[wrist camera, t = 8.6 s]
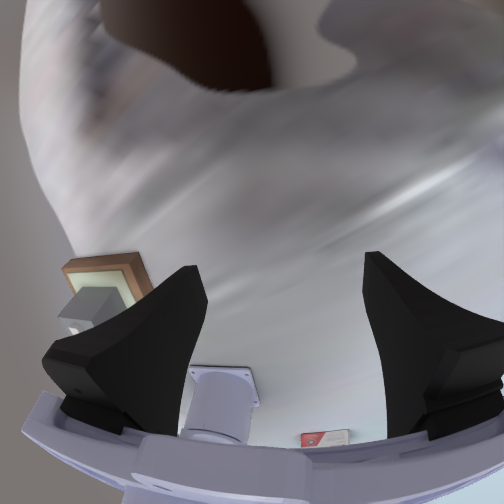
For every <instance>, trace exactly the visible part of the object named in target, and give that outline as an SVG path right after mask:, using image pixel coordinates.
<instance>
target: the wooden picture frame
mask: <svg viewBox="0 0 504 504" xmlns="http://www.w3.org/2000/svg"><path fill="white" fill-rule="evenodd" d="M62 271H63V273H64V275H65V277H66V279H67V281H68V283H69V285H70V287H71V289H72V291H73V293H74V295H76V293H77V292H78V291H79V290H80V289H81V288H82V287H117V289H118V291H119V293H120V295H121V297H122V299H123V301H124V303H125V305H126V307H127V309H128V308H129V307H131V306H132V305H134V304H135V303H136V302H138V301H139V300H140V299H142V298H143V297H144V296H146V295H147V294H148V293H150V292H151V291H152V290H153V287H152V285H151V283H150V280H149V278H148V275H147V273H146V270H145V268H144V265H143V263H142V260H141V257H140V255H139V252H136V253H126V254H116V255H106V256H96V257H87V258H77V259H71V260H70V261H69V262H68V263H67V264H66V265H64V266H63V267H62Z"/></svg>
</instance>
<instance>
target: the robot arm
mask: <svg viewBox="0 0 504 504" xmlns="http://www.w3.org/2000/svg"><path fill="white" fill-rule="evenodd" d="M362 293H363V298H364V303H365V308H366V313H367V316H368V319H369V322H370V325H371V328H372V332H373V335H374V338H375V341H376V345H377V348H378V351H379V355H380V359H381V365H382V371H383V378H384V386H385V396H386V409H387V439H385V440H379V441H373V442H367V443H360V444H352V445H343V446H333V447H319V448H294V449H286V448H275V447H265V446H247V444H246V443H247V441H248V438H249V431H250V424H251V418H252V411H253V407H258V406H260V401H259V397H258V394H257V391H256V387H255V384H254V380H253V377H252V374H251V370H250V369H248V368H223V367H201V366H189V372H190V373H191V375H192V377H193V379H194V381H195V382H196V384H197V385H196V389H195V392H194V395H193V399H192V402H191V405H190V409H189V412H188V415H187V419H186V422H185V425H184V429H183V428H182V429H181V433H180V436H179V434H177V433H178V421H179V413H180V405H181V399H182V393H183V388H184V383H185V378H186V373H187V369H188V365H189V362H190V359H191V356H192V353H193V350H194V348H195V345H196V342H197V339H198V337H199V334H200V331H201V328H202V325H203V322H204V319H205V315H206V310H207V304H208V299H207V296H206V293H205V290H204V287H203V284H202V281H201V277H200V274H199V271H198V268H197V265H191V266H184V267H182V268H180V269H179V270H178V271H176V272H175V273H174V274H172V275H171V276H170V277H169V278H167V279H166V280H165V281H164V282H162V283H161V284H160V285H159V286H157V287H156V288H155V289H154V290H152V291H151V292H150V293H148V294H147V295H146V296H144V297H143V298H142V299H140V300H139V301H138V302H136V303H135V304H134V305H132V306H131V307H129V308H128V309H126V310H124V311H123V312H121V313H120V314H118V315H116V316H114V317H112V318H111V319H109V320H107V321H105V322H103V323H101V324H99V325H97V326H95V327H93V328H90V329H88V330H86V331H83V332H81V333H78V334H75V335H72V336H69V337H66V338H63V339H60V340H56V341H55V342H54V343H53V344H52V345H51V347H50V348H49V350H48V351H47V353H46V354H45V356H44V357H43V358H42V364H43V368H44V369H45V371H46V372H47V374H48V375H49V376H50V377H51V379H52V380H53V381H54V382H55V383H56V384H57V385H58V386H59V388H60V389H61V390H62V391H63V392H64V393H65V394H66V397H65V399H64V400H63V399H62V398H60V397H59V396H57V395H54V394H52V393H50V392H47V391H45V390H43V391H42V393H41V395H40V396H39V398H38V400H37V401H36V403H35V405H34V407H33V408H32V411H31V412H30V414H29V416H28V418H27V419H26V421H25V423H24V425H23V427H22V429H21V431H22V432H23V433H24V434H25V435H26V436H28V437H29V438H30V439H31V440H33V441H34V442H35V443H37V444H38V445H39V446H41V447H42V448H44V449H45V450H47V451H48V452H49V453H51V454H52V455H54V456H55V457H57V458H58V459H60V460H62V461H63V462H65V463H67V464H69V465H71V466H73V467H74V468H76V469H78V470H80V471H82V472H84V473H86V474H87V475H89V476H91V477H94V478H96V479H98V480H100V481H102V482H104V483H106V484H108V485H111V486H113V487H116V488H118V489H120V490H123V491H125V494H124V497H123V500H122V503H121V504H422V503H425V502H428V501H431V500H434V499H437V498H440V497H442V496H445V495H447V494H450V493H453V492H455V491H457V490H459V489H462V488H464V487H466V486H469V485H471V484H473V483H475V482H477V481H479V480H481V479H483V478H485V477H487V476H489V475H491V474H493V473H495V472H497V471H498V470H500V469H502V468H504V396H502V393H501V391H500V389H502V388H503V382H502V380H501V377H502V375H503V374H504V322H500V321H497V320H493V319H490V318H486V317H484V316H481V315H478V314H476V313H473V312H471V311H468V310H466V309H464V308H461V307H459V306H457V305H455V304H453V303H451V302H449V301H447V300H446V299H444V298H442V297H440V296H439V295H437V294H435V293H434V292H432V291H431V290H429V289H427V288H426V287H424V286H423V285H422V284H420V283H419V282H417V281H416V280H415V279H413V278H412V277H411V276H409V275H408V274H407V273H406V272H404V271H403V270H402V269H401V268H399V267H398V266H397V265H396V264H394V263H393V262H392V261H391V260H390V259H388V258H387V257H386V256H385V255H383V254H382V253H381V252H379V251H375V252H365V262H364V277H363V289H362Z"/></svg>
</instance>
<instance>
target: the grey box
mask: <svg viewBox="0 0 504 504" xmlns="http://www.w3.org/2000/svg"><path fill="white" fill-rule="evenodd" d="M126 309H127V307H126V305H125V303H124V301H123V299H122V297H121V295H120V293H119V291H118V289H117V287H82V288H81V289H80V290H79V291H78V292H77V293H76V295H75V296H74V297H73V298H72V299H71V301H70V302H69V303H68V304H67V305H66V306H65V308H64V309H63V310H62V311H61V313H60V314H59V315H58V316H57V318H58V319H59V321H60V322H61V324H62V326H63V327H64V329H65V330H66V332H67V333H68V335H69V336H72V335H75V334H78V333H81V332H83V331H86V330H88V329H90V328H93V327H95V326H97V325H99V324H101V323H103V322H105V321H107V320H109V319H111V318H112V317H114V316H116V315H118V314H120V313H121V312H123V311H124V310H126Z"/></svg>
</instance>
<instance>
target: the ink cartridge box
mask: <svg viewBox="0 0 504 504" xmlns="http://www.w3.org/2000/svg"><path fill="white" fill-rule="evenodd" d="M343 445H349V432H348V430H347V429H345V430H338V431H330V432H320V433H309V434H302V435H301V448H319V447H333V446H343Z"/></svg>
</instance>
